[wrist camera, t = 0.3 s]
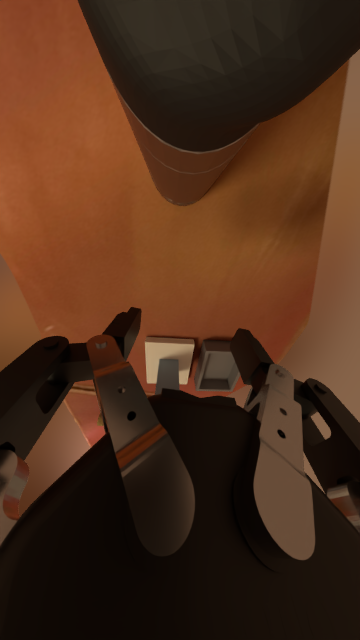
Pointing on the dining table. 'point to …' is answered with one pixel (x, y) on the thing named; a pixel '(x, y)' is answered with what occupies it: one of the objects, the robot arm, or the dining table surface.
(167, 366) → the tile block
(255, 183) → the dining table surface
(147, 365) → the bench board
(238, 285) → the dining table surface
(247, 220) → the dining table surface
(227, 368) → the tray
